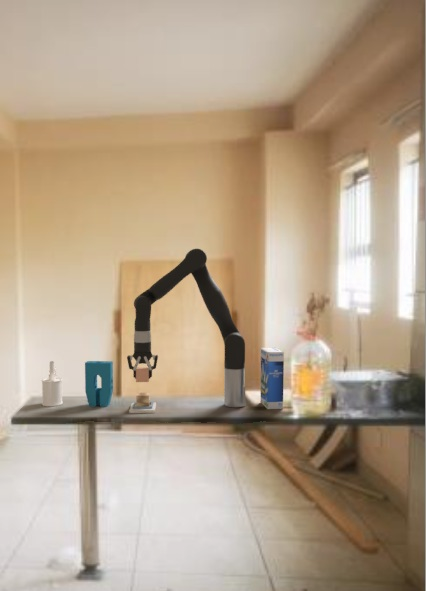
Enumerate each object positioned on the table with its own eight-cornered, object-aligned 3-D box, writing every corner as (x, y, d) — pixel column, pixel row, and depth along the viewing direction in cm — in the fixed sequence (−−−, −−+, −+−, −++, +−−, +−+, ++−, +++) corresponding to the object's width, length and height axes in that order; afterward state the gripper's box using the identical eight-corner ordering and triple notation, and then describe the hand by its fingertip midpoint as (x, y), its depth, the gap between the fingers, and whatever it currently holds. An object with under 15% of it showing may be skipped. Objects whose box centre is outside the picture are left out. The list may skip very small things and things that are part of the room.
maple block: (149, 404, 236) (149, 392, 236) (149, 407, 230) (148, 395, 230) (137, 404, 235) (137, 392, 235) (136, 408, 230) (136, 395, 230)
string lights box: (260, 402, 244) (260, 347, 243) (275, 401, 246) (275, 347, 244) (267, 409, 231) (268, 352, 230) (284, 408, 233) (284, 351, 231)
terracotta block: (149, 379, 235) (149, 367, 235) (148, 382, 230) (148, 369, 230) (137, 379, 235) (137, 367, 235) (136, 382, 229) (135, 369, 229)
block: (113, 404, 242) (113, 361, 241) (110, 406, 237) (110, 363, 236) (88, 403, 243) (87, 361, 242) (85, 406, 238) (84, 362, 237)
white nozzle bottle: (42, 402, 245) (41, 360, 244) (62, 401, 248) (62, 359, 247) (41, 408, 235) (41, 364, 234) (63, 406, 238) (62, 362, 237)
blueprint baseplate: (156, 405, 240) (156, 400, 240) (154, 412, 227) (154, 408, 227) (132, 405, 239) (132, 401, 239) (129, 413, 226) (129, 408, 226)
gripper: (159, 339, 236) (159, 376, 237) (127, 339, 235) (127, 376, 236) (158, 341, 228) (158, 380, 229) (125, 342, 227) (125, 380, 228)
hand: (142, 378), depth 232 cm, fingers closed on terracotta block, 5 cm apart
